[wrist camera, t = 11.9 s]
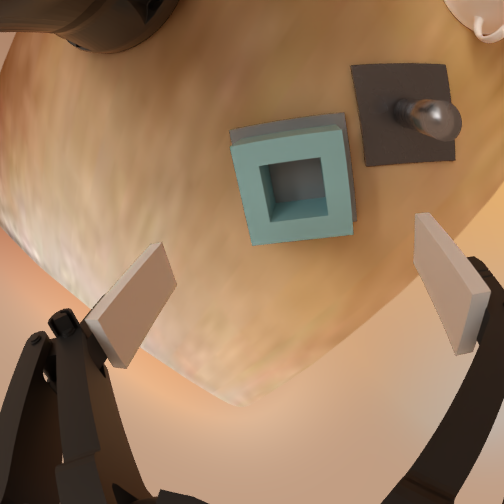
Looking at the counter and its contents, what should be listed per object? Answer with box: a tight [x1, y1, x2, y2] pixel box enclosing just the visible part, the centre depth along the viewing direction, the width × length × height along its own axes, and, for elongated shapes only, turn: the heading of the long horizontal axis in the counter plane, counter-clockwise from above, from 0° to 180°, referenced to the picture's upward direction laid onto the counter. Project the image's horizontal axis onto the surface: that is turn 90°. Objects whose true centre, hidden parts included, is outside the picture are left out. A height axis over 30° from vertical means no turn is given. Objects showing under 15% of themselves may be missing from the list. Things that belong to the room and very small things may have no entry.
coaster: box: [229, 112, 357, 222], centre depth 30 cm, size 11×11×1 cm
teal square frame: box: [230, 124, 353, 246], centre depth 27 cm, size 9×9×5 cm
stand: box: [350, 63, 462, 166], centre depth 21 cm, size 10×10×9 cm
